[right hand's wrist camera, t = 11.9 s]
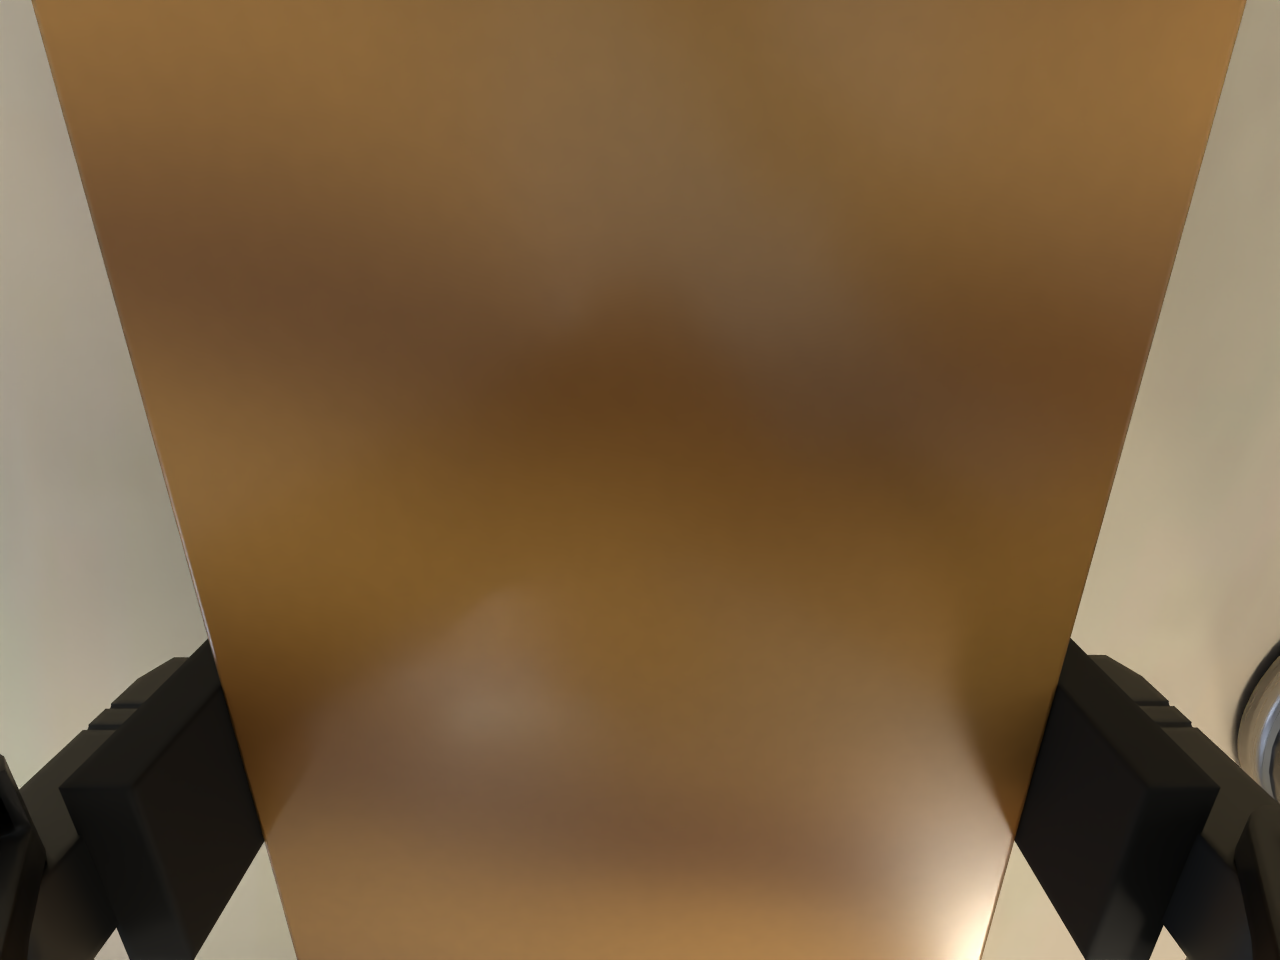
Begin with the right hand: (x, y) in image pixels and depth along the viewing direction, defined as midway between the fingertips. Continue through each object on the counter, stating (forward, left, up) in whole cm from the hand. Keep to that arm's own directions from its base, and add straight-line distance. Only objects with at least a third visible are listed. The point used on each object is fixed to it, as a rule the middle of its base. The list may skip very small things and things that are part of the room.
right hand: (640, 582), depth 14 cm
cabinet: (+5, -3, -4) cm, 7 cm away
